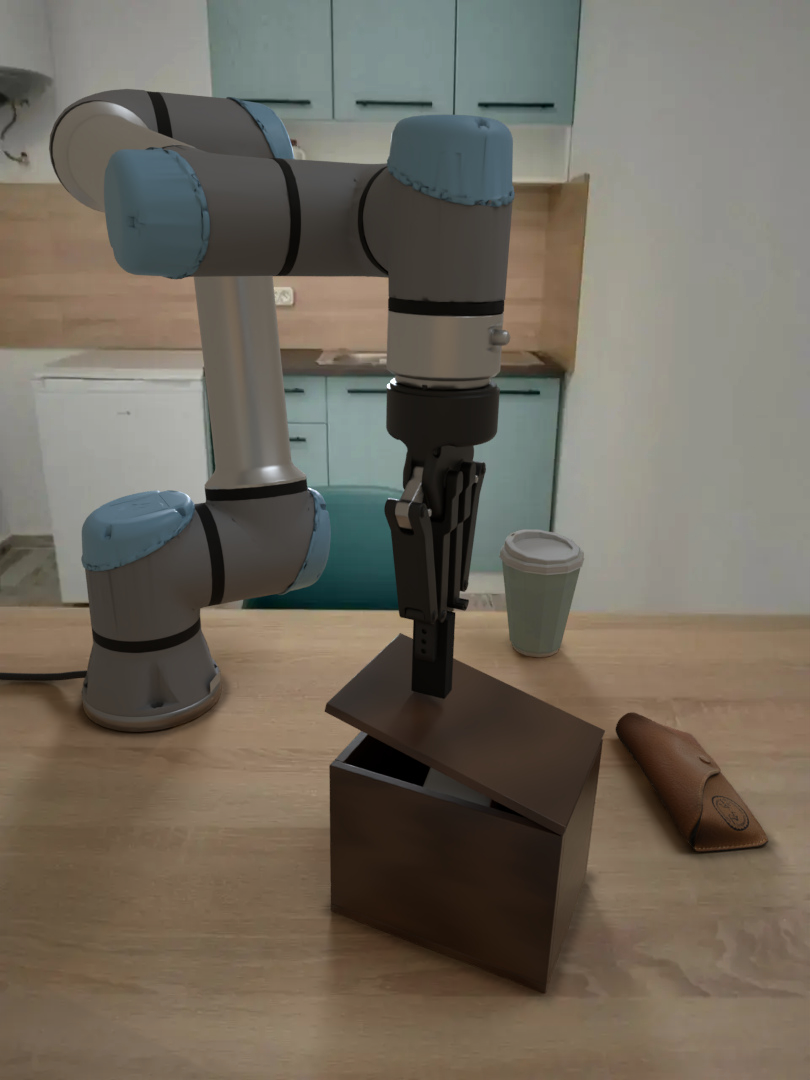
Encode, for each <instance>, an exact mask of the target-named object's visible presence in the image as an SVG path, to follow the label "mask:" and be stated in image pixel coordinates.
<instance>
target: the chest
mask: <svg viewBox="0 0 810 1080" xmlns="http://www.w3.org/2000/svg"><path fill="white" fill-rule="evenodd" d="M603 742H604V739H603V738H602V740H601V742H600V745H599V747H598V750H597V752H596V754H595V757H594V759H593V762H592V764H591V766H590V769H589V771H588V774H587V776H586V778H585V781H584V783H583V786H582V788H581V791H580V793H579V795H578V798H577V800H576V803H575V805H574V807H573V810H572V812H571V815H570V817H569V819H568V822H567V824H566V827H565V829H564V831H563V833H562V835H559V834H557V833H555V832H553V831H551V830H550V829H548V828H546V827H544V826H542V825H540V824H538V823H536V822H534V821H532V820H530V819H528V818H527V817H525V816H523V815H521V814H519V813H517V812H515V811H513V810H511V809H509V808H507V807H506V806H504V805H502V804H500V806H499V810H497V809H493V808H490V807H487V806H484V805H480V804H477V803H474V802H470V801H467V800H464V799H461V798H457V797H454V796H451V795H447V794H444V793H441V792H438V791H434V790H431V789H428V788H424V787H423V785H424V783H425V780H426V778H427V775H428V773H429V770H430V768H431V767H429V766H427V765H425V764H423V763H421V762H420V761H418V760H416V759H414V758H412V757H410V756H408V755H406V754H404V753H402V752H400V751H399V750H397V749H395V748H393V747H391V746H389V745H387V744H385V743H383V742H381V741H379V740H378V739H376V738H374V737H372V736H370V735H368V734H366V733H364V732H362V731H360V732H358V734H357V735H356V736H355V737H354V738H353V739H352V740H351V741H350V742H349V744H347V746H346V747H345V748H344V749H343V750H342V751H341V752H340V753H339V754H338V755H337V757H335V758H334V760H333V761H332V762H330V764H329V767H328V768H329V774H328V775H329V857H330V858H329V865H330V866H329V869H330V870H329V871H330V872H329V875H330V876H329V877H330V878H329V879H330V880H329V881H330V912H332V913H335V914H338V915H339V916H343V917H345V918H348V919H350V920H352V921H355V922H358V923H361V924H364V925H366V926H368V927H371V928H373V929H377V930H379V931H382V932H384V933H387V934H390V935H392V936H395V937H397V938H400V939H403V940H405V941H407V942H410V943H413V944H415V945H418V946H420V947H424V948H426V949H428V950H431V951H434V952H436V953H439V954H441V955H444V956H447V957H449V958H451V959H455V960H457V961H459V962H462V963H465V964H468V965H470V966H473V967H475V968H477V969H480V970H482V971H486V972H488V973H490V974H493V975H496V976H499V977H501V978H504V979H507V980H509V981H512V982H514V983H517V984H519V985H522V986H525V987H527V988H529V989H532V990H535V991H538V992H540V993H543V994H546V993H547V990H548V988H549V984H550V982H551V978H552V975H553V974H554V971H555V968H556V965H557V962H558V959H559V955H560V953H561V950H562V947H563V945H564V941H565V939H566V936H567V933H568V930H569V927H570V924H571V923H572V922H571V921H572V919H573V916H574V914H575V910H576V907H577V904H578V902H579V898H580V896H581V893H582V890H583V888H584V884H585V882H586V879H587V872H588V864H589V863H588V862H589V855H590V848H591V839H592V831H593V823H594V816H595V807H596V799H597V791H598V784H599V775H600V768H601V767H600V766H601V760H602V752H603V751H602V750H603V744H604V743H603Z"/></svg>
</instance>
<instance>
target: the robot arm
mask: <svg viewBox="0 0 810 1080" xmlns="http://www.w3.org/2000/svg"><path fill="white" fill-rule="evenodd" d="M513 139H514V138H513V135H512V132H511V131H510V129H509V127H508V126H507V125H506V124H505V123H503V122H502V121H500V120H498V119H495V118H491V117H485V116H479V115H471V114H469V115H468V114H422V115H421V114H419V115H413V116H409V117H404V118H402V119H400V120H398V122H397V123H396V124H395V126H394V129H393V130H392V132H391V137H390V144H389V146H390V147H389V153H388V154H389V155H388V157H387V159H386V162H384V163H382V162H381V163H359V162H356V163H355V162H345V161H344V162H342V161H330V160H328V161H327V160H312V159H311V160H310V159H297V158H296V159H295V153H294V149H293V145H292V142H291V138H290V136H289V133H288V131H287V129H286V127H285V124H284V123H283V121H282V119H281V118H280V117H279V116H278V115H277V113H276V112H275V111H274V110H273V109H272V108H271V107H269V106H268V105H265V104H263V103H261V102H260V103H259V102H254V101H248V100H243V99H239V98H237V97H235V96H226V98H225V97H215V96H205V95H194V94H185V93H184V94H183V93H174V92H163V91H149V90H145V89H136V88H135V89H134V88H121V89H111V90H104V91H100V92H96V93H93V94H90V95H87V96H85V97H82V98H80V99H78V100H76V101H74V102H73V103H71V104H69V105H68V106H67V107H66V108H64V109H63V111H62V112H61V113H60V114H59V115H58V116H57V118H56V120H55V122H54V123H53V126H52V129H51V132H50V134H49V143H48V144H49V145H48V151H49V158H50V164H51V166H52V169H53V172H54V174H55V176H56V177H57V179H58V181H59V183H60V184H61V185H62V186H63V188H64V189H65V190H66V191H67V192H68V193H69V194H70V196H72V197H73V198H74V199H75V200H76V201H78V202H79V203H80V204H82V205H84V206H85V207H87V208H89V209H92V210H93V211H97V212H100V213H104V214H105V224H106V230H107V236H108V241H109V244H110V247H111V248H112V251H113V256H114V259H115V261H116V263H117V265H118V266H119V267H120V269H122V270H123V271H124V272H126V273H128V274H131V275H135V276H146V277H149V276H151V277H162V278H166V279H170V280H182V279H185V278H193V284H194V292H195V299H196V309H197V317H198V326H199V333H200V335H199V336H200V342H201V352H202V358H203V359H202V361H203V368H204V376H205V377H204V378H205V386H206V394H207V402H208V403H207V404H208V412H209V419H210V420H209V421H210V430H211V437H212V438H211V439H212V445H213V455H214V462H215V463H214V464H215V469H214V472H213V473H212V475H211V476H210V477H209V478H208V480H207V481H206V482H205V484H204V495H205V502H200V503H195V502H194V501H193V500H192V498H191V497H190V496H189V494H187V493H185V492H182V491H180V490H170V489H167V490H163V491H161V490H157V489H156V490H149V491H148V490H147V491H142V492H136V493H131V494H128V495H125V496H121V497H119V498H116V499H113V500H110V501H108V502H106V503H104V504H101V505H100V506H99V507H98V508H96V509H95V510H93V511H92V512H91V513H90V514H89V515H88V516H87V517H86V518H85V520H84V522H83V524H82V527H81V558H80V559H81V565H82V567H83V568H84V570H85V571H84V573H85V579H86V580H85V581H86V589H87V599H88V608H89V617H90V626H91V633H92V634H91V635H92V646H91V650H90V654H89V658H88V664H87V668H86V670H74V671H66V672H65V671H64V672H50V673H49V672H47V673H45V672H44V673H43V672H41V673H38V672H36V673H34V672H33V673H31V672H30V673H29V672H2V671H1V672H0V681H22V682H23V681H25V682H27V681H28V682H47V681H48V682H49V681H51V682H52V681H53V682H54V681H68V680H75V679H84V680H83V682H82V686H81V697H82V707H83V711H84V713H85V715H86V716H87V718H89V719H90V720H91V721H92V722H94V723H95V724H96V725H99V726H101V727H104V728H107V729H109V730H114V731H121V732H131V733H133V732H136V733H142V732H153V731H160V730H165V729H169V728H173V727H177V726H180V725H183V724H186V723H188V722H190V721H192V720H195V719H197V718H198V717H201V716H202V715H204V714H205V713H207V712H208V711H209V710H210V709H211V708H212V707H213V706H214V705H215V704H216V703H217V702H218V700H219V699H220V696H221V693H222V678H221V677H222V676H221V675H222V674H221V669H220V668H219V666H218V664H217V662H216V660H215V659H214V658H213V657H212V654H211V650H210V647H209V645H208V642H207V640H206V638H205V635H204V632H203V629H202V621H201V609H203V608H208V607H212V606H218V605H224V604H227V603H228V604H229V603H234V602H238V601H244V600H250V599H251V600H252V599H257V598H262V597H267V596H271V595H278V596H283V595H285V594H288V593H289V592H292V591H296V590H301V589H303V588H304V589H305V588H308V587H311V586H312V585H314V584H315V583H316V582H317V581H319V579H320V578H321V576H322V575H323V572H324V571H325V570H326V567H327V565H328V561H329V556H330V551H331V541H332V540H331V539H332V537H331V535H332V533H331V532H332V531H331V530H332V529H331V520H330V519H331V518H330V513H329V511H328V510H327V503H326V501H325V499H324V497H323V495H322V494H321V493H320V492H319V491H318V490H316V489H313V488H312V487H308V480H307V479H308V478H307V474H306V473H304V472H303V471H302V470H301V469H300V468H298V466H296V465H295V464H294V463H293V460H292V451H291V442H290V441H291V440H290V431H289V424H288V423H289V422H288V413H287V403H286V402H287V401H286V393H285V384H284V373H283V364H282V355H281V346H280V343H281V342H280V336H279V335H280V334H279V325H278V315H277V305H276V296H275V287H274V277H325V278H326V277H328V278H329V277H331V278H333V277H366V278H369V277H373V278H386V279H388V281H387V283H388V289H387V290H388V300H387V329H386V330H387V331H386V336H387V337H386V365H385V366H386V367H385V368H386V370H387V371H388V372H390V373H391V374H392V375H394V377H393V378H391V380H390V381H389V383H387V385H386V407H385V408H386V410H385V411H386V413H385V415H386V416H385V417H386V418H385V428H386V431H387V433H388V435H389V436H390V437H392V438H393V439H394V440H397V441H400V442H402V443H403V444H404V446H405V447H406V454H405V461H404V465H403V471H402V488H403V492H402V494H401V496H400V498H399V499H398V498H394V497H393V498H392V497H388V498H387V499H386V501H385V504H384V507H383V508H384V510H383V512H384V516H385V519H386V522H387V523H388V527H389V530H390V537H391V546H392V554H393V556H392V558H393V567H394V575H395V577H394V578H395V586H396V596H397V604H398V605H397V607H398V614H399V617H400V618H402V619H405V620H411V621H413V622H412V626H413V627H412V639H413V652H412V687H411V691H415V692H418V693H422V694H426V695H430V696H434V697H438V698H442V699H445V698H446V696H447V695H448V694H449V693H450V691H451V690H452V674H453V658H454V652H455V651H454V650H455V632H456V631H455V630H456V612H455V611H453V610H459V611H464V612H465V611H467V609H468V607H469V603H470V599H467V598H462V597H460V595H461V592H463V593H465V592H467V590H468V587H469V579H470V571H471V565H472V564H471V563H472V556H473V549H474V543H475V533H476V526H477V518H478V511H479V504H480V495H481V491H482V487H483V483H484V478H485V475H486V472H487V465H486V463H485V462H484V461H477V460H474V458H475V457H474V456H475V447H474V446H479V445H483V444H486V443H488V442H490V441H492V440H493V439H494V438H495V437H496V436H497V434H498V430H499V429H498V428H499V427H498V425H499V411H500V410H499V409H500V396H501V395H500V393H501V392H500V391H501V388H500V387H499V386H498V384H497V383H496V382H495V381H494V380H491V379H492V378H495V377H496V376H497V375H498V374H500V372H501V366H502V364H501V363H502V349H503V346H507V345H508V344H509V343H510V340H511V334H510V332H509V331H508V330H505V329H503V325H504V319H505V318H504V315H505V313H504V312H505V301H506V293H507V292H506V291H507V279H508V266H509V256H510V255H509V252H510V242H511V241H510V240H511V228H512V214H513V201H514V200H515V197H516V192H515V186H514V185H513V165H514V164H513V163H514V161H513V160H514V159H513V157H514V156H513V155H514V140H513Z"/></svg>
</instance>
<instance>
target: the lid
mask: <svg viewBox="0 0 810 1080" xmlns="http://www.w3.org/2000/svg"><path fill="white" fill-rule="evenodd" d="M412 652H413V637H410V636H408V635H406V634H404V633H403V632H400V633H398V634H397V635H396V636H395V637H394V638H393V639H392V640H391V641H390V642H389V643H388V644H387V645H386V646H385V647H384V648H382V650H380V651H379V653H377V655H375V656H374V657H373V658H372V659H371V660H370V661H369V662H368V663H367V664H366V665H365V666H364V667H363V668H362V669H361V670H359V671H358V672H357V674H355V675H354V676H353V677H352V678H351V679H350V680H349V681H348V682H347V683H346V684H345V685H344V686H343V687H342V688H341V689H340V690H338V692H336V693H335V694H334V696H332V697H331V698H330V699H329V700H328V701H327V702H326V703H325V707H324V713H326V714H327V715H330V716H331V717H334V718H336V719H337V720H339V721H341V722H343V723H345V724H347V725H349V726H351V727H353V728H355V729H357V730H358V731H360V732H361V731H362V732H364V733H366V734H368V735H370V736H372V737H374V738H376V739H378V740H379V741H381V742H383V743H385V744H387V745H389V746H391V747H393V748H395V749H397V750H399V751H400V752H402V753H404V754H406V755H408V756H410V757H412V758H414V759H416V760H418V761H420V762H421V763H423V764H425V765H427V766H429V767H431V768H433V769H435V770H437V771H439V772H441V773H443V774H444V775H446V776H448V777H450V778H452V779H454V780H456V781H458V782H460V783H462V784H464V785H465V786H467V787H469V788H471V789H473V790H475V791H477V792H479V793H481V794H483V795H485V796H486V797H488V798H490V799H492V800H494V801H496V802H498V803H500V804H502V805H504V806H506V807H507V808H509V809H511V810H513V811H515V812H517V813H519V814H521V815H523V816H525V817H527V818H528V819H530V820H532V821H534V822H536V823H538V824H540V825H542V826H544V827H546V828H548V829H550V830H551V831H553V832H555V833H557V834H559V835H562V833H563V831H564V829H565V827H566V824H567V822H568V819H569V817H570V815H571V812H572V810H573V807H574V805H575V803H576V800H577V798H578V795H579V793H580V791H581V788H582V786H583V783H584V781H585V778H586V776H587V774H588V771H589V769H590V766H591V764H592V762H593V759H594V757H595V754H596V752H597V750H598V747H599V745H600V742H601V740H602V739H603V737H604V736H605V733H606V730H605V729H603V728H601V727H599V726H597V725H595V724H593V723H591V722H589V721H587V720H584V719H582V718H580V717H578V716H575V715H573V714H572V713H569V712H567V711H566V710H564V709H561V708H560V707H557V706H555V705H553V704H550V703H548V702H546V701H544V700H543V699H540V698H538V697H536V696H534V695H532V694H530V693H528V692H525V691H523V690H521V689H519V688H517V687H515V686H513V685H511V684H509V683H506V682H504V681H503V680H500V679H498V678H496V677H494V676H492V675H490V674H488V673H485V672H484V671H481V670H479V669H477V668H476V667H473V666H470V665H468V664H466V663H465V662H462V661H460V660H458V659H456V658H454V657H453V674H452V690H451V691H450V693H449V694H448V695H447V696H446V698H445V699H442V698H438V697H434V696H430V695H426V694H422V693H418V692H415V691H411V687H412Z"/></svg>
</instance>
